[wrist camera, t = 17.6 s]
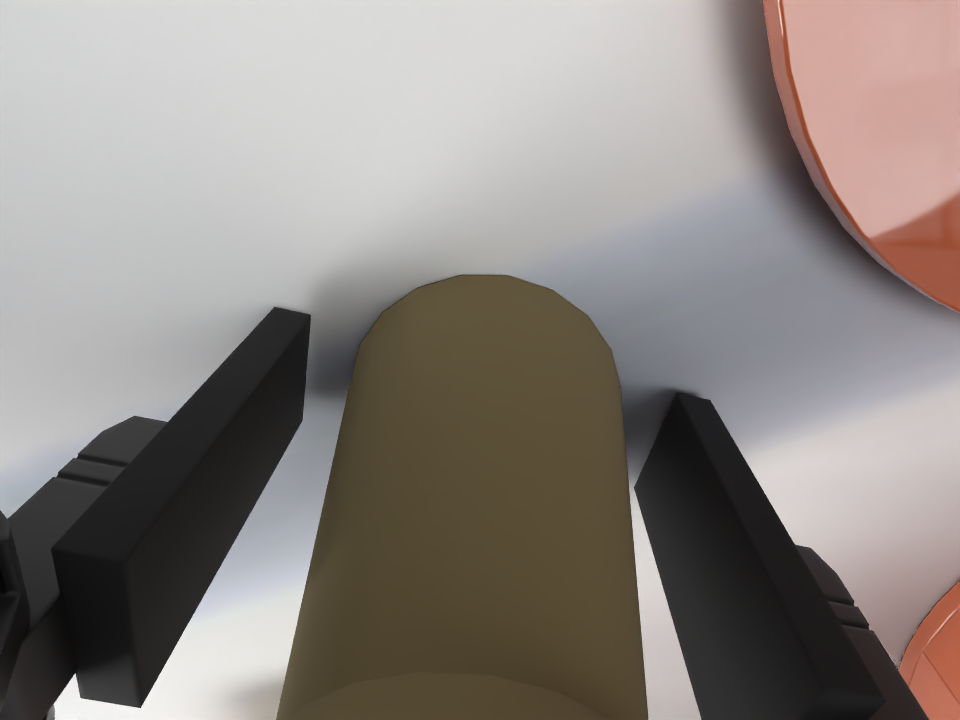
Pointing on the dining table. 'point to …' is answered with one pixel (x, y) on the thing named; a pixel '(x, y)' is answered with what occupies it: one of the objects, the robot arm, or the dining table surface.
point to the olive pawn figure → (474, 522)
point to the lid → (879, 125)
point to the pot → (936, 660)
